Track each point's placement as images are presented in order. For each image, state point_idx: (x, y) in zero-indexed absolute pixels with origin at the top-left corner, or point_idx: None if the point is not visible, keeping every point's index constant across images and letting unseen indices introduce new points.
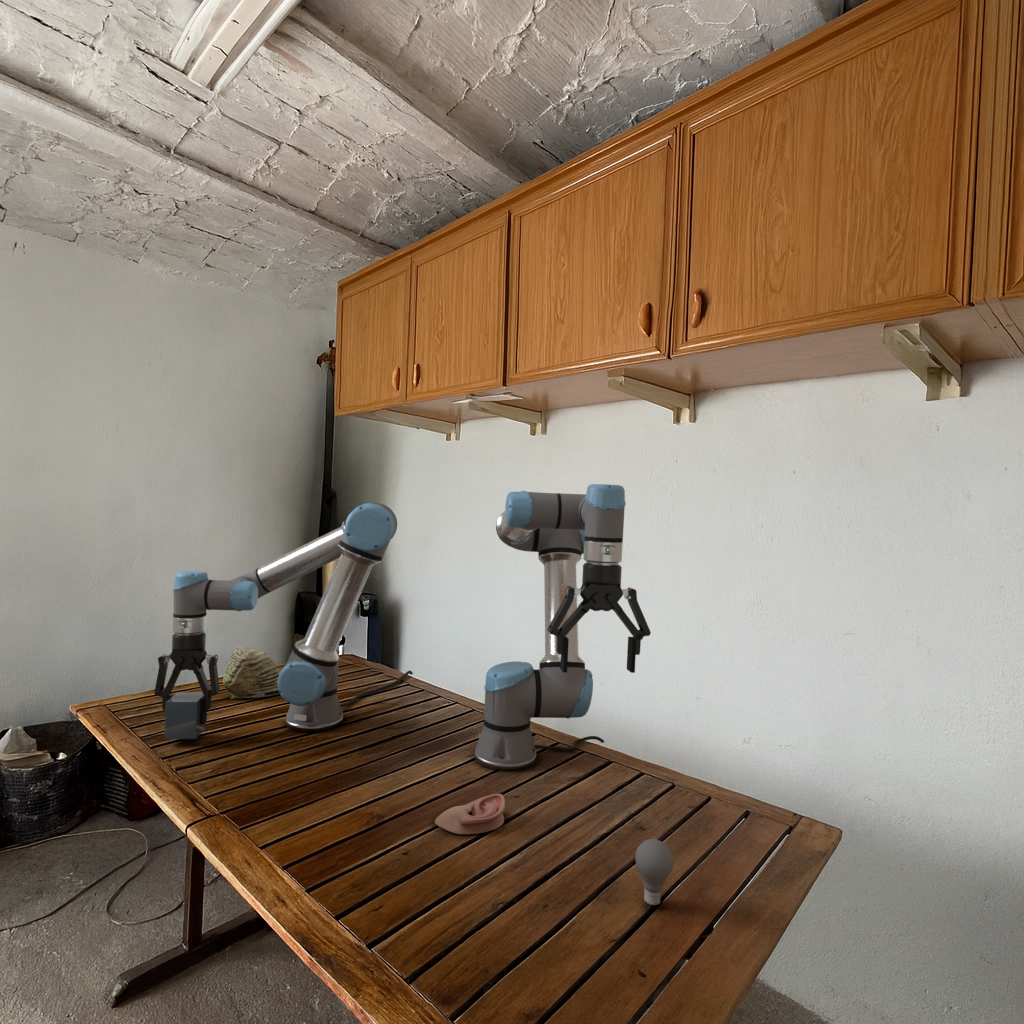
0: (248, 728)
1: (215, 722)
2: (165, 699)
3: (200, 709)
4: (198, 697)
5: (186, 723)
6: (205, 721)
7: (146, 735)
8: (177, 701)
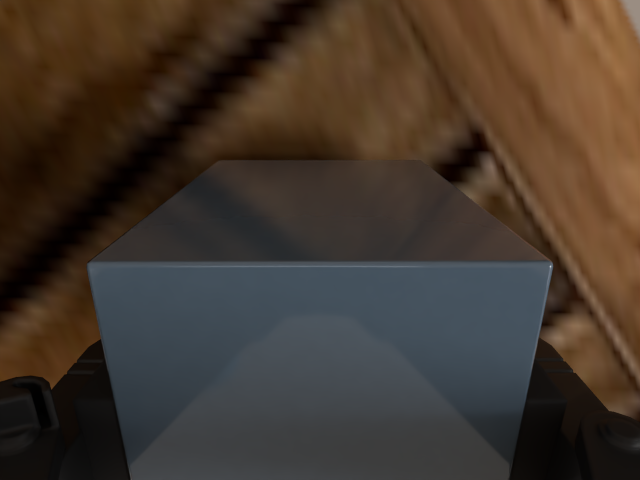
0: None
1: None
2: (575, 413)
3: None
4: (161, 434)
5: (269, 183)
6: None
7: (553, 322)
8: (384, 282)
